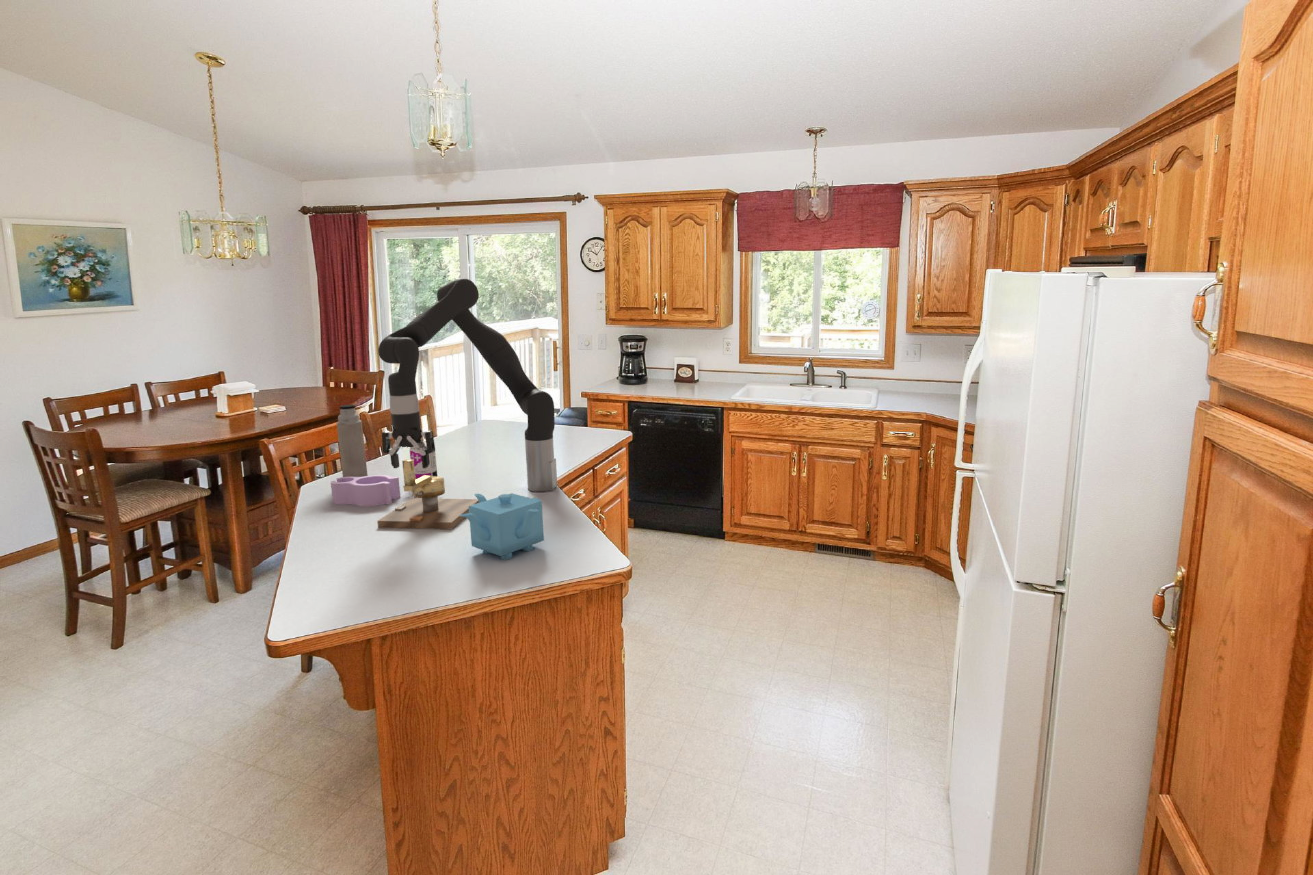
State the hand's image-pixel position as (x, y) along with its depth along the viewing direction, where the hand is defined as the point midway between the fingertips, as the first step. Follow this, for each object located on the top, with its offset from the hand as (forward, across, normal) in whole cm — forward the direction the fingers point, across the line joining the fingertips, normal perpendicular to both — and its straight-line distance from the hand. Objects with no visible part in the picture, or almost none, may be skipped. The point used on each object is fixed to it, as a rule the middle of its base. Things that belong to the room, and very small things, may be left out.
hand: (410, 467), depth 199 cm
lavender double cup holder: (+18, +29, -24) cm, 42 cm away
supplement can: (+18, +16, -41) cm, 48 cm away
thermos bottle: (+18, +42, -42) cm, 62 cm away
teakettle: (+18, -32, +16) cm, 40 cm away
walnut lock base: (+18, 0, -10) cm, 20 cm away
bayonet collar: (+11, 0, -7) cm, 13 cm away
